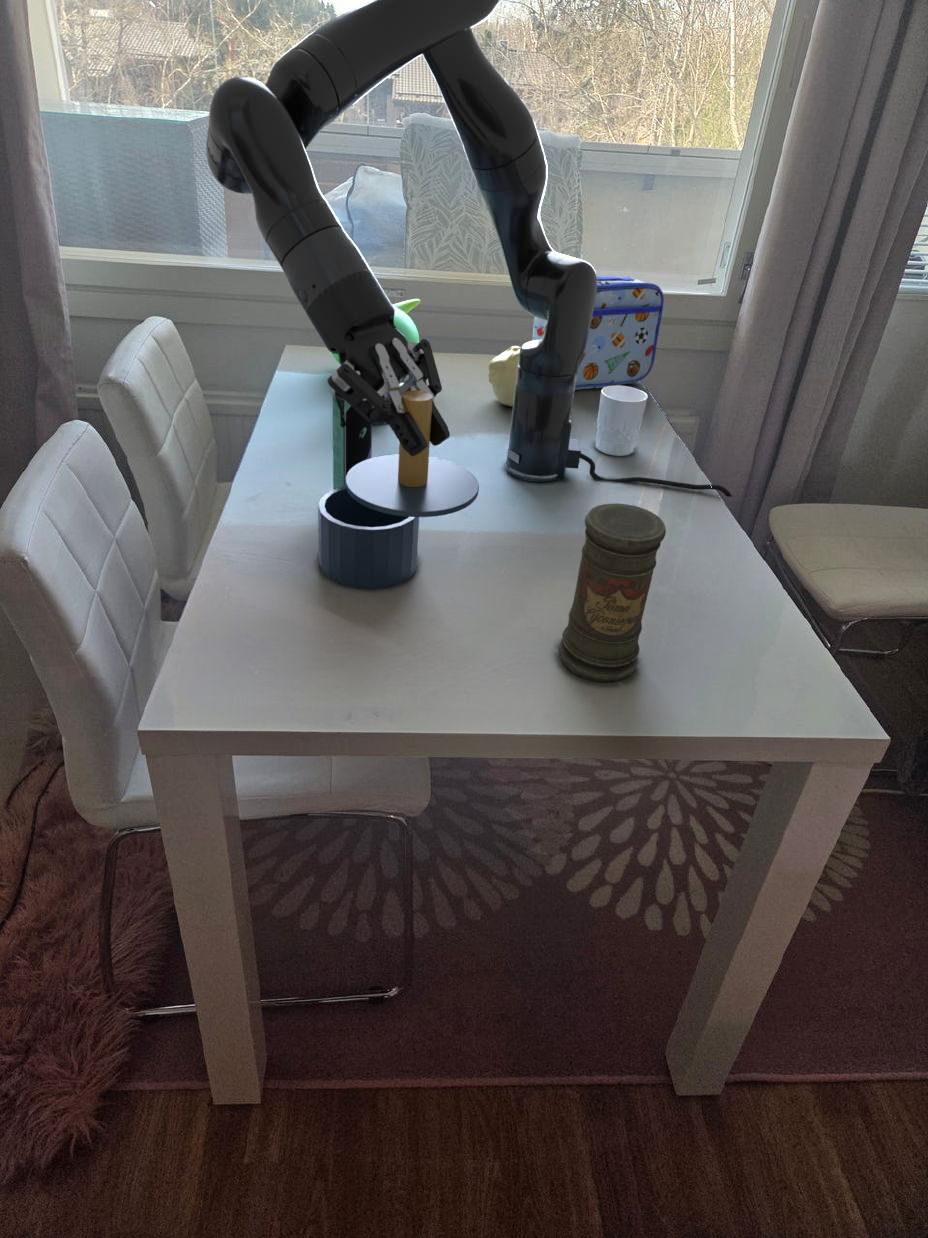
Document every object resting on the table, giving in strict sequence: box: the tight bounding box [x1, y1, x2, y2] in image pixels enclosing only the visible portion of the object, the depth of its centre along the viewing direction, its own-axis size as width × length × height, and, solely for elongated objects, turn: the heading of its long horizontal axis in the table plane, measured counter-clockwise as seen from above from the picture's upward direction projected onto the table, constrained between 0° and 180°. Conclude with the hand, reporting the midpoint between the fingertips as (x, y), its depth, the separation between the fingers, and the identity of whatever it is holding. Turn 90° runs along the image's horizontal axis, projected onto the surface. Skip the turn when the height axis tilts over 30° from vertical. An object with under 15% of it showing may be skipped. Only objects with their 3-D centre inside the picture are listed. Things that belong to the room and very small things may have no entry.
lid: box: [345, 389, 480, 518], centre depth 86 cm, size 14×14×10 cm
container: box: [558, 502, 667, 683], centre depth 94 cm, size 9×9×18 cm
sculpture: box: [487, 345, 521, 407], centre depth 164 cm, size 12×12×11 cm
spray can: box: [331, 389, 373, 490], centre depth 121 cm, size 6×6×20 cm
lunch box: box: [531, 275, 665, 391], centre depth 173 cm, size 28×10×22 cm, turn 115°
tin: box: [317, 486, 420, 590], centre depth 110 cm, size 13×13×8 cm
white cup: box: [595, 385, 649, 457], centre depth 149 cm, size 8×8×10 cm
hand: (431, 445), depth 84 cm, fingers closed on lid, 3 cm apart
